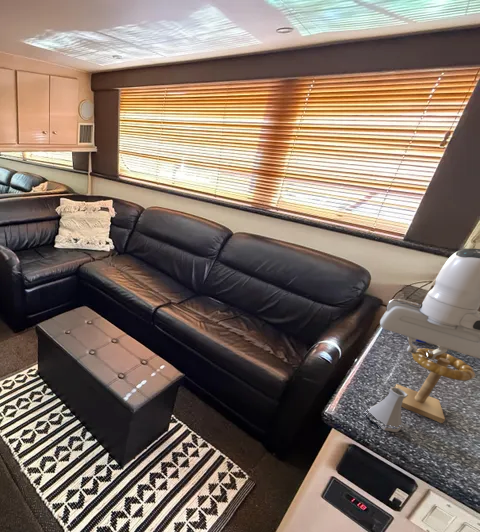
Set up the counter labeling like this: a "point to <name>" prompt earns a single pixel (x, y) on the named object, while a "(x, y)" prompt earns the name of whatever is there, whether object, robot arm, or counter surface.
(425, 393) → the stand
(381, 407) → the flask
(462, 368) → the ring
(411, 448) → the counter surface
